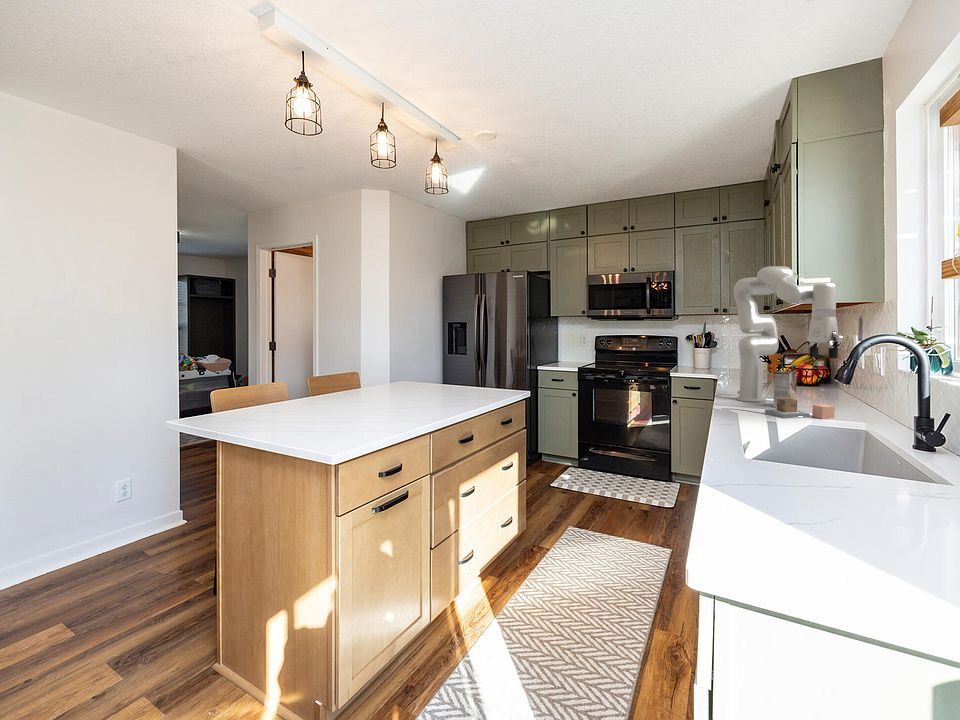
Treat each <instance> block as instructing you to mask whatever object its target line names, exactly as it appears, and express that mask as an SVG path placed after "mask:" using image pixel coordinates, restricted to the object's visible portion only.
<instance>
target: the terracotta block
mask: <svg viewBox="0 0 960 720" xmlns="http://www.w3.org/2000/svg"><path fill="white" fill-rule="evenodd" d="M835 409H836V406H834V405H830V404H824V403H823V404H812V410H811V411H812V414H811V417H812V416H814V417H813V418H815V417H817V418H816V419H819V418H820V419H821V420H831V419H830V418H834V419H835V414H836V413H835Z"/></svg>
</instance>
